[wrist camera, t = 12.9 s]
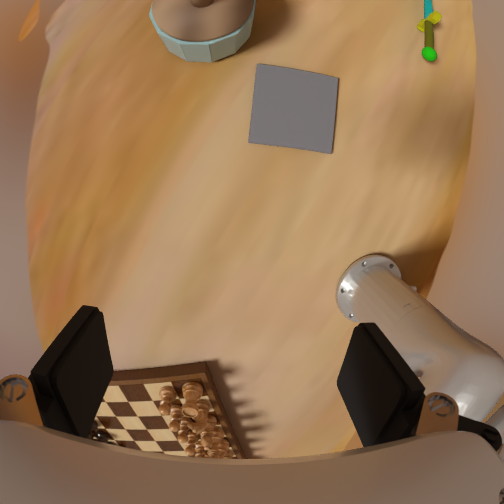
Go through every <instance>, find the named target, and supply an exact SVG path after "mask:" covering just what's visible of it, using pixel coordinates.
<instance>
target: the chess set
mask: <svg viewBox="0 0 504 504" xmlns="http://www.w3.org/2000/svg"><path fill="white" fill-rule="evenodd" d="M87 439H90V440H94V441H98V442H102V443H107V444H111V445H116V446H120V447H125V448H131V449H136V450H142V451H148V452H154V453H161V454H169V455H178V456H188V457H201V458H218V459H246V458H245V456H244V453H243V451H242V449H241V447H240V445H239V442H238V440H237V438H236V436H235V433H234V431H233V429H232V426H231V424H230V422H229V419H228V417H227V414H226V412H225V410H224V407H223V405H222V402H221V400H220V397H219V395H218V392H217V390H216V387H215V385H214V382H213V380H212V377H211V374H210V372H209V369H208V366H207V364H206V361H205V362H198V363H191V364H183V365H175V366H167V367H158V368H148V369H137V370H124V371H113V376H112V379H111V381H110V383H109V386H108V388H107V390H106V393H105V395H104V397H103V400H102V402H101V405H100V407H99V409H98V412H97V414H96V417H95V419H94V422H93V425H92V427H91V430H90V432H89V435H88V438H87Z"/></svg>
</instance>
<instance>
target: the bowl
mask: <svg viewBox="0 0 504 504" xmlns="http://www.w3.org/2000/svg"><path fill="white" fill-rule="evenodd" d="M152 3H153V2H152ZM255 5H256V0H254V5H253V9H252V12H251V15H250V16H249V18H248V20H247V21H246V22H245V23H244V24H243V25H242V26H241V27H240V28H239V29H237V30H236V31H234V32H233V33H231V34H229V35H227V36H225V37H222V38H219V39H216V40H212V41H206V42H187V41H181V40H178V39H175V38H172V37H170V36H169V35H167V34H165V33H164V32H163V31H162V30H161V29H160V28H159V27H158V25H157V24H156V22H155V20H154V18H153V15H152V6H151V10H150V14H149V16H150V18H151V20H152V22H153V24H154V26H155V28H156V30H157V32H158V34H159V36H160V38H161V39H162V41H163V43H164V44H165V46H166V48H167V49H168V51H169V52H171V53H173V54H175V55H177V56H178V57H180V58H182V59H184V60H186V61H188V62H214V61H216V60H219V59H221V58H224V57H226V56H229V55H232V54H234V53H236V52H237V51H238V49H239V48H240V47H241V46H242V45H243V44H244V43H245V42H246V41H247V40H248V38H249V37H250V34H251V29H252V23H253V18H254V12H255Z"/></svg>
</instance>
